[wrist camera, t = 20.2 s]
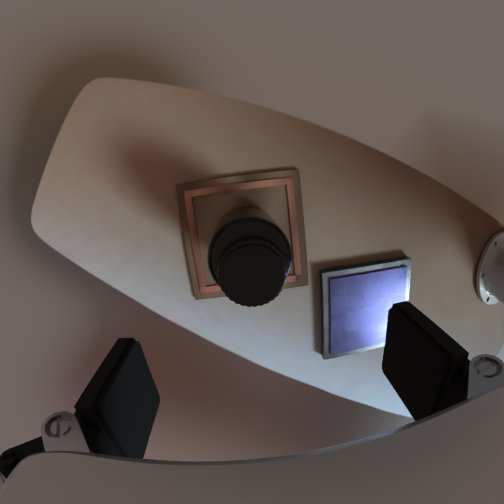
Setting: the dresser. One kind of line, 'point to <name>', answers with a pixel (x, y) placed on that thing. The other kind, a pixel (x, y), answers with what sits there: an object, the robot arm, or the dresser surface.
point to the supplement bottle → (249, 256)
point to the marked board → (233, 196)
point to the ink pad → (360, 304)
